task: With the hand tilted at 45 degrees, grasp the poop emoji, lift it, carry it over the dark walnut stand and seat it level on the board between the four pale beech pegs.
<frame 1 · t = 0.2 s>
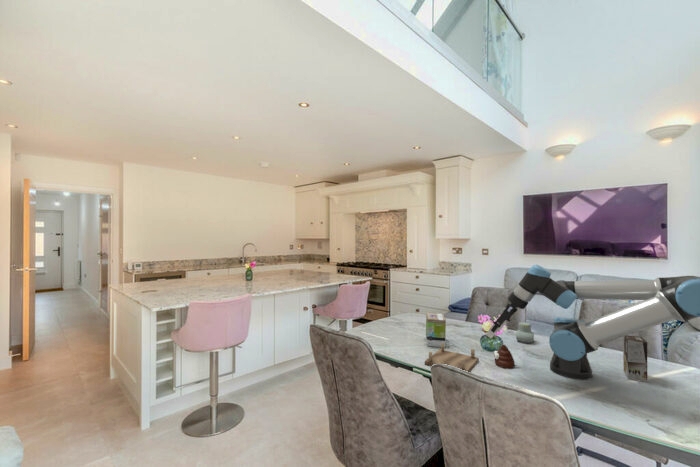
hand: (492, 333, 145), 15 cm above the table, tool tilted 35°, fingers open, 13 cm apart
tea box: (435, 342, 177), on the table
poop emoji: (504, 365, 147), on the table
stand: (452, 362, 149), on the table
air freshener: (525, 341, 179), on the table
coffee box: (635, 377, 133), on the table
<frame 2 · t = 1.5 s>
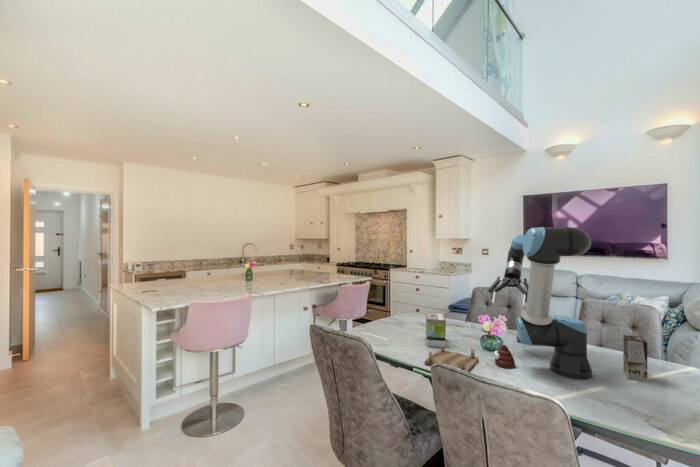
hand: (508, 305, 156), 25 cm above the table, tool tilted 45°, fingers open, 13 cm apart
nothing on the table moved.
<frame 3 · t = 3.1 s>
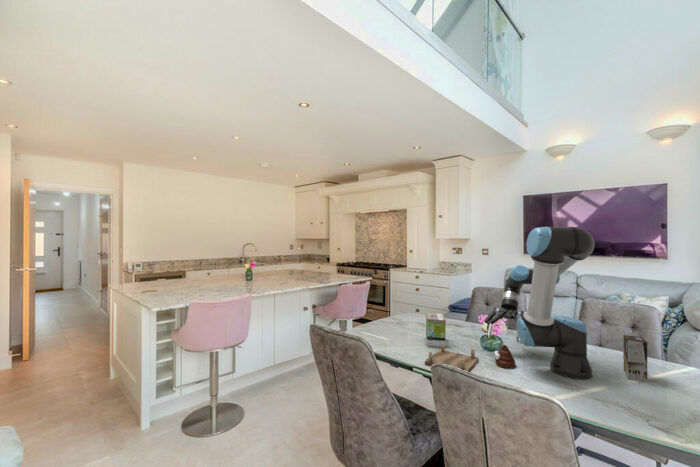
hand: (503, 339, 152), 10 cm above the table, tool tilted 45°, fingers open, 13 cm apart
nothing on the table moved.
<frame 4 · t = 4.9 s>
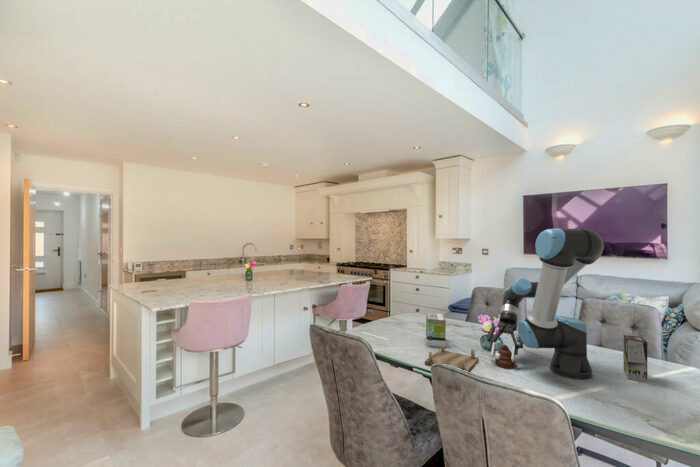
hand: (502, 358, 144), 4 cm above the table, tool tilted 45°, fingers closed on poop emoji, 8 cm apart
poop emoji: (504, 364, 146), on the table, touching gripper
everything else where it was.
when the fingers open (7 cm above the table, at t = 10.4 s): poop emoji drops 1 cm, resting on stand.
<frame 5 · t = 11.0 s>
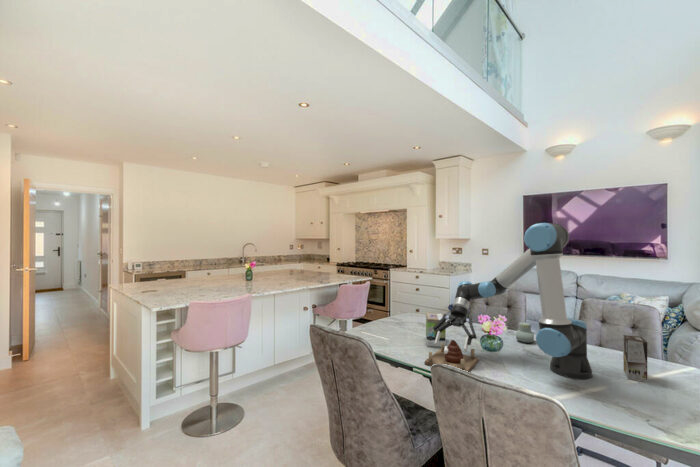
hand: (450, 347, 147), 8 cm above the table, tool tilted 45°, fingers open, 13 cm apart
poop emoji: (453, 359, 149), point 1 cm above the table, touching stand
everything else where it was.
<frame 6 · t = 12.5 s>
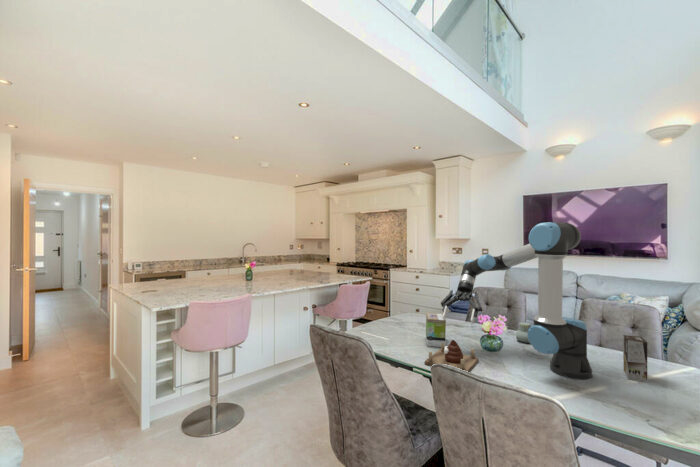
hand: (457, 320, 155), 18 cm above the table, tool tilted 45°, fingers open, 13 cm apart
nothing on the table moved.
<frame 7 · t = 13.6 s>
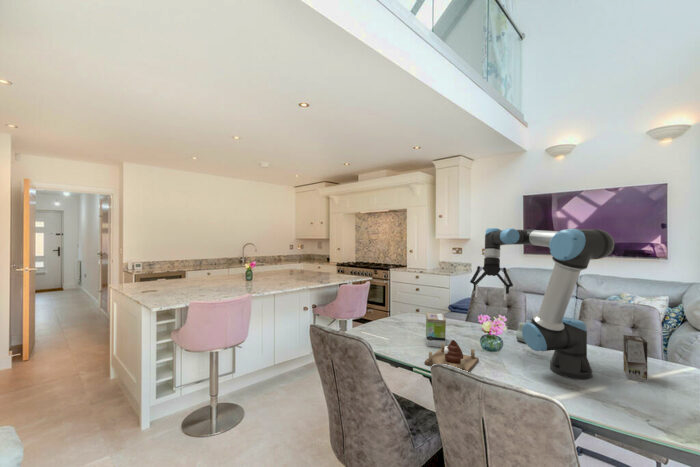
hand: (490, 299, 163), 27 cm above the table, tool pointing down, fingers open, 13 cm apart
nothing on the table moved.
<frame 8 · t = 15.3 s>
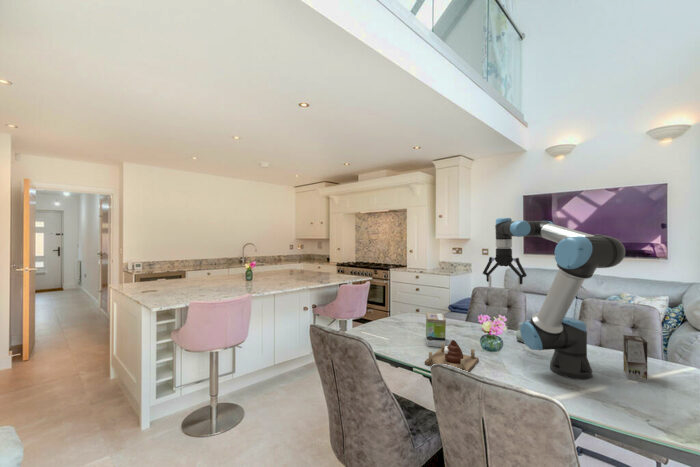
hand: (504, 289, 163), 32 cm above the table, tool pointing down, fingers open, 13 cm apart
nothing on the table moved.
at the end: poop emoji 0.8 cm off-centre on the stand, point 1.3 cm above the stand's base; poop emoji tilted 0°; the gripper is holding nothing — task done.
